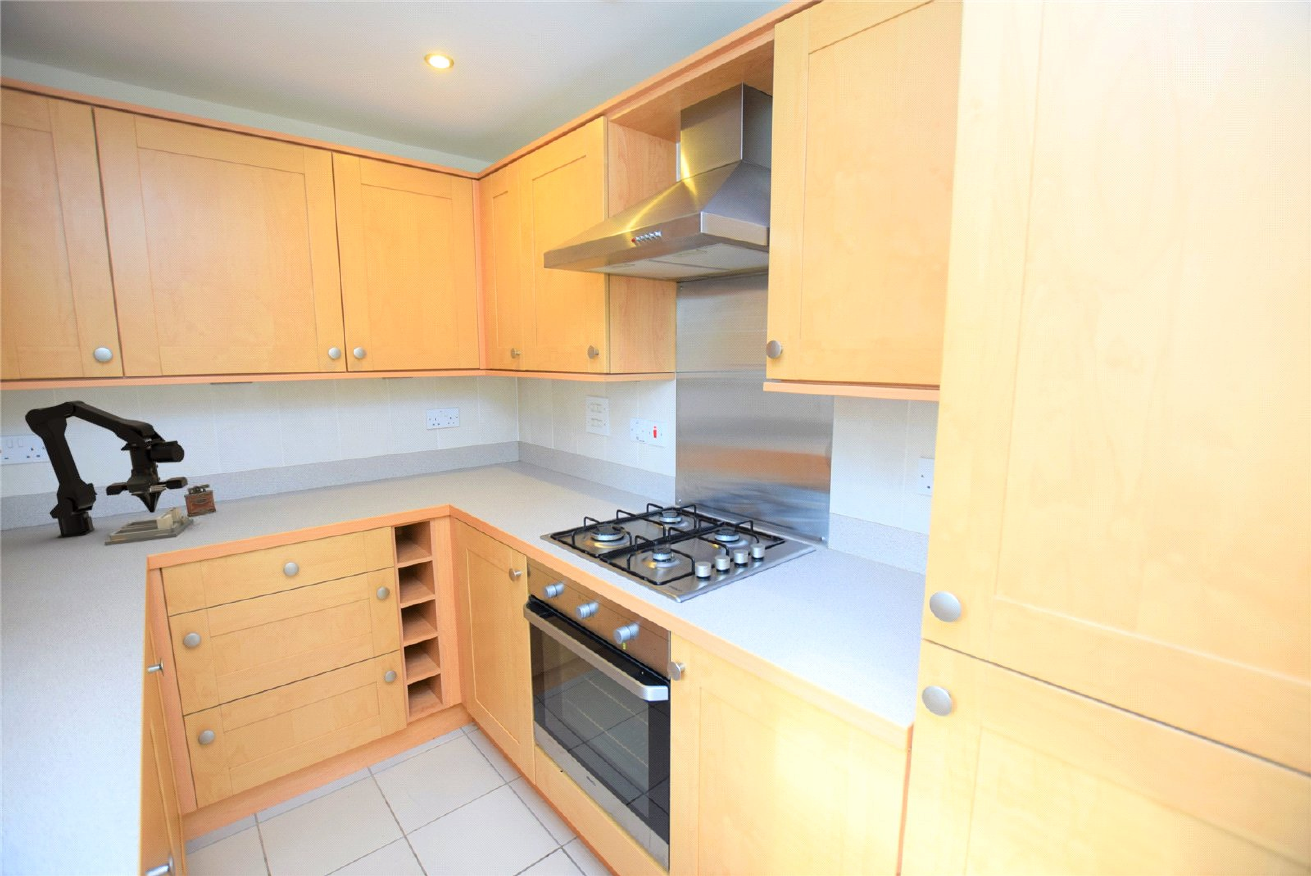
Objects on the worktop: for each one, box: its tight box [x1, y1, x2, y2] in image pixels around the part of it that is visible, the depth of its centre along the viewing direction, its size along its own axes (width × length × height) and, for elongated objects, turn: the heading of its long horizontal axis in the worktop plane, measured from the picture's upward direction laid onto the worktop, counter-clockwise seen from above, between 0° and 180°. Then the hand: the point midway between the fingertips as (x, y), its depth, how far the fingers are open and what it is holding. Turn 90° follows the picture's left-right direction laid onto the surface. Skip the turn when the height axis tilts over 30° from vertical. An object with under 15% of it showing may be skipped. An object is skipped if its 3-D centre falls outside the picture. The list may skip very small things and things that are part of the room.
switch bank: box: [103, 515, 195, 546], centre depth 182 cm, size 17×16×2 cm
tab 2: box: [165, 507, 183, 521], centre depth 187 cm, size 2×4×5 cm, turn 22°
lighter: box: [183, 483, 217, 518], centre depth 200 cm, size 8×3×10 cm, turn 143°
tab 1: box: [155, 513, 173, 529], centre depth 179 cm, size 2×4×5 cm, turn 22°
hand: (152, 512), depth 184 cm, fingers closed
